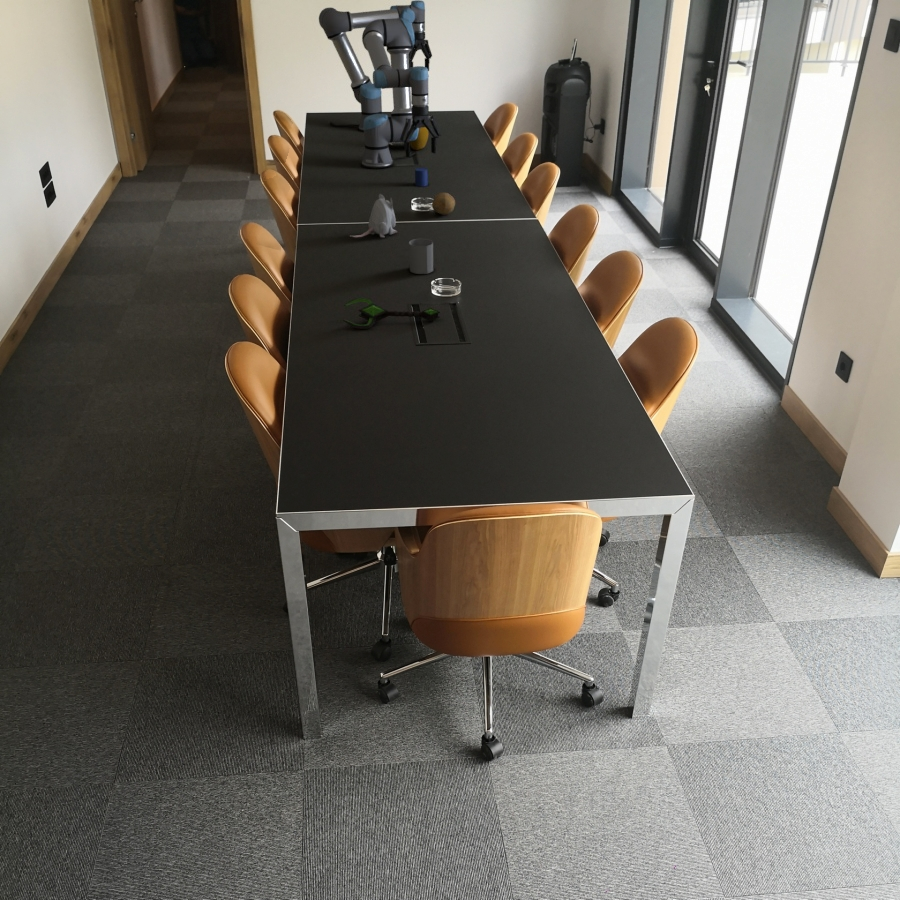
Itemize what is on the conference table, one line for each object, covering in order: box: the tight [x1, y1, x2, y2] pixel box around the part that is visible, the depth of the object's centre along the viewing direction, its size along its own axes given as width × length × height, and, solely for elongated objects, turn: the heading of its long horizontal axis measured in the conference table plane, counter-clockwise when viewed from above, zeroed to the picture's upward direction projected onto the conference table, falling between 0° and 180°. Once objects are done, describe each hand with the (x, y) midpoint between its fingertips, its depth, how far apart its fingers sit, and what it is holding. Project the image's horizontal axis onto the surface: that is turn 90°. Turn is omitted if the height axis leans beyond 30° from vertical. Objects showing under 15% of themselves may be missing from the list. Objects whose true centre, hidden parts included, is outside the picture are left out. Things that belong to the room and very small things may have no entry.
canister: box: [414, 167, 429, 187], centre depth 397 cm, size 6×6×7 cm
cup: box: [408, 237, 434, 275], centre depth 305 cm, size 8×8×10 cm
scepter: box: [342, 297, 441, 330], centre depth 270 cm, size 6×13×30 cm
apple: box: [408, 127, 429, 151], centre depth 451 cm, size 11×11×13 cm
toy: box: [350, 193, 398, 239], centre depth 333 cm, size 9×24×15 cm, turn 137°
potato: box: [431, 192, 456, 216], centre depth 360 cm, size 10×14×8 cm
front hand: (421, 155), depth 392 cm, fingers open, 13 cm apart
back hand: (419, 72), depth 498 cm, fingers open, 13 cm apart
